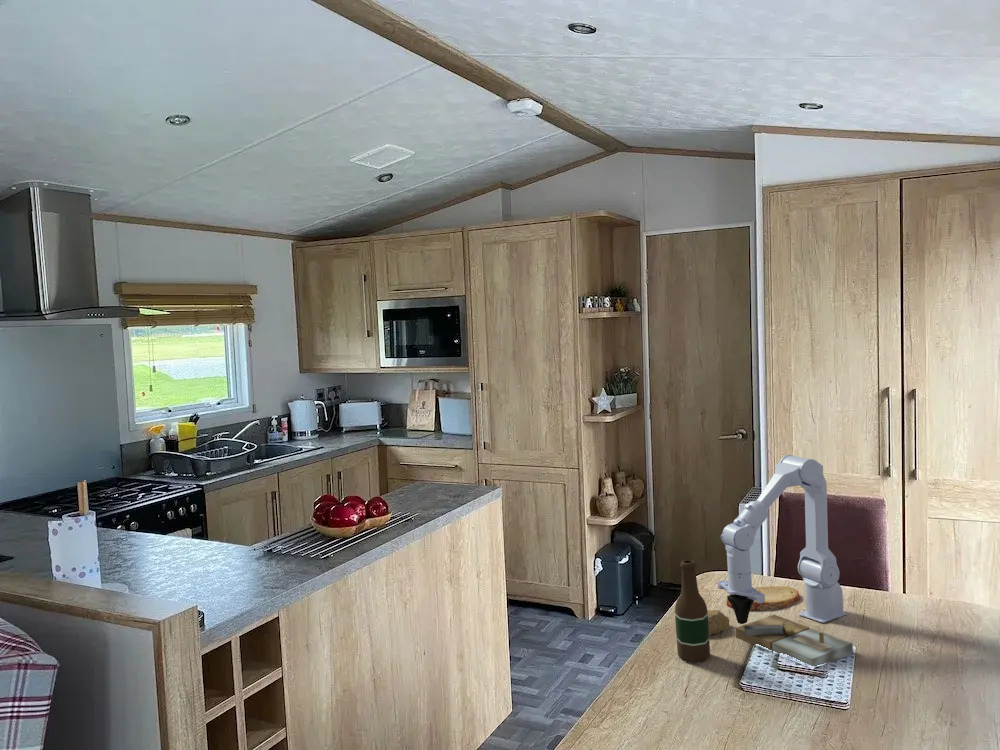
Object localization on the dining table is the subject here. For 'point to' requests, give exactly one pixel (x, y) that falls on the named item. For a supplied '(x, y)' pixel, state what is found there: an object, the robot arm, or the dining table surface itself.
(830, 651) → the door mockup
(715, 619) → the stone tool
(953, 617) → the dining table surface
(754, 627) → the bar
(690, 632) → the beer bottle
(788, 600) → the slice of bread
